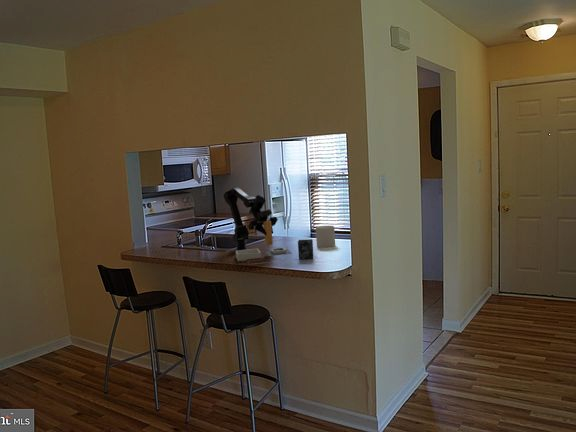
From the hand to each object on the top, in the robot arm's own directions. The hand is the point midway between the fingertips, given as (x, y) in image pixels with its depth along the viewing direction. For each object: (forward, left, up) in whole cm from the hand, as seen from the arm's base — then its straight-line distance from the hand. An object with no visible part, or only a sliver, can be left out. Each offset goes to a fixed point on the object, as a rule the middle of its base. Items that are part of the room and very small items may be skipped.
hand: (269, 233), depth 301 cm
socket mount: (-3, +5, -13) cm, 15 cm away
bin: (-1, -14, -13) cm, 19 cm away
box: (+17, +18, -14) cm, 28 cm away
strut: (-1, -1, -7) cm, 7 cm away
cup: (-13, +38, -14) cm, 42 cm away
